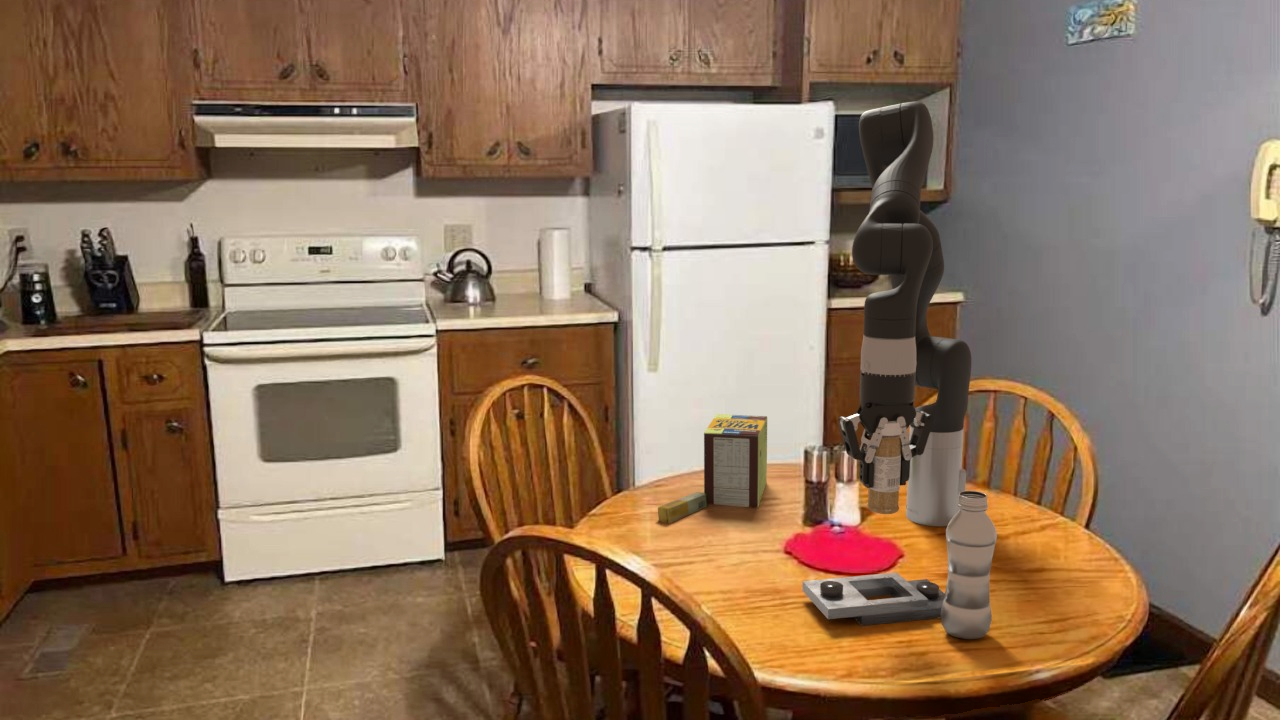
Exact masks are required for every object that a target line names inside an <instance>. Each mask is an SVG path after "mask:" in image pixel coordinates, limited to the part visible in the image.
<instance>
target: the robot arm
mask: <svg viewBox="0 0 1280 720" xmlns="http://www.w3.org/2000/svg"><path fill="white" fill-rule="evenodd" d="M858 133H859V134H858V135H859V141H860V145H861V149H862V155H863V158H864V162H865V165H866V169H867V170H866V171H867V174H868V177H869V181H870V185H871V189H872V190H871V195H870V202H869V203H870V204H869V212H868V214H867V215H866V217H865V218H864V220H863V221H862V223H861V224H860V225H859V228H858V229H857V231H856V233H855V235H854V239H853V242H852V247H851V248H852V249H851V256H852V260H853V263H854V266H856V269H858V270H859V271H860V272H862V273H863V274H865V275H869V276H870V275H871V276H873V275H874V276H875V275H876V276H889V280H890V285H891V289H889V290H883V291H882V290H881V291H878V292H873V293H870V294H868V295H867V296H866V298H865V300H864V305H863V306H864V308H863V330H862V331H863V334H862V337H863V338H862V343H861V349H860V350H861V351H860V368H859V369H860V373H859V375H860V376H859V406H858V408H857V411H856V413H854V414H853V415H849V416H847V417H846V416H844V415H843V416H839V417H838V420H837V422H838V426H839V430H840V433H841V437H842V440H843V444H844V448H845V452H846V454H847V455H848V456H849V457H852V459H854V460H857V461H858V460H859V469H858V471H859V472H858V474H859V475H858V478H859V482H860V483H862V485H863V486H864V487H865V488H867V489H868V488H873V481H874V463H873V462H872V461H873V458H874V455H875V452H876V449H877V448H878V447H879V445H880V442H881V439H882V435H881V430H882V429H884V428H885V424H887V423H888V421H895V422H897V423H899V424H900V428H901V434H900V443H901V449H900V450H901V469H900V486H906V484H907V486H906V487H907V488H906V505H905V508H906V511H905V512H906V513H905V516H906V518H907V520H909V521H911V522H912V523H915V524H918V525H923V526H928V527H929V526H930V527H947V526H948V523H949V522H950V520H951V519H952V518H953V516H954V515H955V514H956V513H957V512H958V511H959V508H958V507H957V503H958V494H959V492H961V491H966V485H967V483H966V482H967V470H966V469H965V468H963V467H962V463H963V446H964V429H965V428H964V426H965V418H966V414H967V411H968V404H969V402H968V401H969V391H970V383H971V374H972V353H971V350H970V349H971V348H970V347H969V345H968V343H967V342H966V341H964V340H961V339H957V338H949V337H943V336H942V337H941V336H933V335H931V334H930V332H929V328H928V327H929V326H928V320H927V312H928V308H929V306H930V304H931V301H932V298H933V297H934V295H935V293H936V292H937V290H938V288H939V285H940V283H941V281H942V279H943V276H944V272H945V271H944V270H945V259H944V255H943V248H942V243H941V238H940V233H939V230H938V229H937V226H935V225H934V223H933V222H932V220H931V219H930V218H929V217H928V216H927V215H926V214H925V213H924V212H923V211H922V210H921V195H922V194H921V192H922V187H923V182H924V179H925V177H926V173H927V170H928V168H929V163H930V161H931V160H930V159H931V158H932V153H933V149H934V129H933V123H932V117H931V114H930V112H929V109H928V107H927V106H926V104H925V103H923V102H921V101H906V102H902V103H898V104H897V103H896V104H892V105H888V106H887V105H886V106H882V107H878V108H873V109H869V110H866V111H864V112H863V113H861V115H860V117H859V122H858ZM916 387H919V388H926V389H933V390H937V397H936V400H935V402H933V403H930V404H929V403H928V404H924V405H921V406H917V407H915V405H914V403H915V402H914V401H915V399H916V397H915V395H916ZM859 423H860V424H861V426H862V427H863V428H864V429H863V432H862V436H861V437H860V441H861V444H860V446H859V442H858V437H857V434H856V433H857V430H858V429H859V426H858V424H859ZM908 428H909V433H908ZM878 433H879V434H878ZM870 436H871V437H872V438H871V439H870Z"/></svg>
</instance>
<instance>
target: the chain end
mask: <svg viewBox="0 0 1280 720" xmlns="http://www.w3.org/2000/svg"><path fill="white" fill-rule="evenodd" d="M906 581H907V582H908V583H910V584H911V585H912V586H913V587H914V588H916V589H917V590H918V591H919V592H920V593H921V594H923V595H924V596H925V597H926V598H927V599H928V609H926V610H916V611H906V612H896V613H886V614H876V615H866V616H856V617H852V618H853V619H854V620H855V621H856V622H857V623H858V624H859V625H860V626H861V627H863V626H864V627H865V626H874V625H876V626H877V625H884V624H892V623H904V622H913V621H923V620H924V621H925V620H932V619H933V620H934V619H941V609H942V604H943V601H944V598H945V592H943V591H942V590H941V589H940V586H939V584H937V583H935V582H932V581H930V580H929V579H927V578H926V579H925V578H924V579H914V580H906ZM857 591H858V592H859V593H860V594H861V595H863V596H864V597H865V598H866V599H867V598H877V597H878V598H879V597H888V596H889V597H890V596H891V598H899V597H903V596H901V595H900V594H899V593H898V592H897V591H896V590H895V589H894V588H892V587H883V588H873V589H862V590H857Z"/></svg>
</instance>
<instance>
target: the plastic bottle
mask: <svg viewBox="0 0 1280 720" xmlns="http://www.w3.org/2000/svg"><path fill="white" fill-rule="evenodd" d="M957 507H958V508H959V511H958V512H957V513H956V514H955V515H954V516H953V518H952V519H951V520H950V522H949V523H948V526H946V529H945V538H946V539H945V540H946V549H947V550H946V551H947V568H948V569H947V580H946V586H945V592H944V593H945V598H944V601H943V604H942V609H941V618H940V622H941V626H942V627H943V629H944V630H945V632H946V633H947V634H948V635H951V636H952V637H955V638H959V639H965V640H974V639H975V640H977V639H981V638H983V637H985V636H986V635H987V634H988V632H989V631H990V630H991V629H990V628H991V625H992V619H993V617H992V616H993V615H992V607H991V603H990V602H991V598H990V596H991V595H990V578H991V568H992V561H993V556H994V553H995V548H996V547H995V546H996V544H997V537H998V532H997V528H996V526H995V524H994V523H993V520H992V519H991V518H990V516H989V515H988V514H987V513H986V511H988V509H989V505H988V495H987V493H985V492H982V491H977V490H965V491H961V492H959V494H958V503H957Z"/></svg>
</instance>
